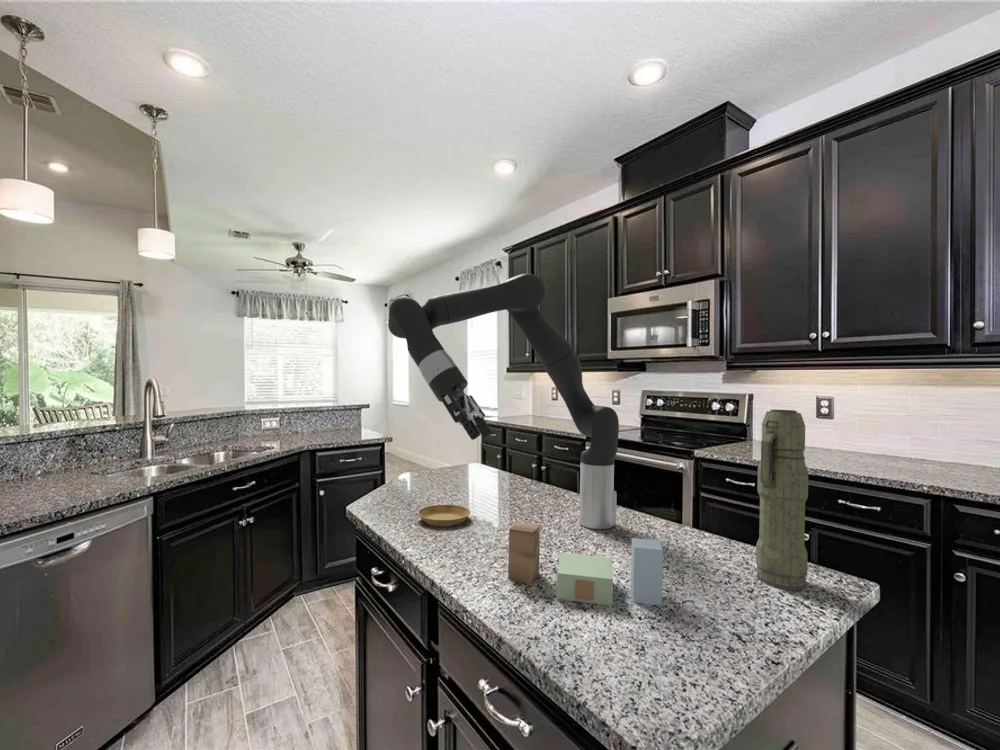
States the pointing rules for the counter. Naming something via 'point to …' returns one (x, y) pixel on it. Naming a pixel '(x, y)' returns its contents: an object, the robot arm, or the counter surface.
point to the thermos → (782, 501)
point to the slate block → (646, 571)
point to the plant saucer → (444, 515)
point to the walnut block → (524, 552)
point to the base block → (585, 579)
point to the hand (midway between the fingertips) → (483, 436)
